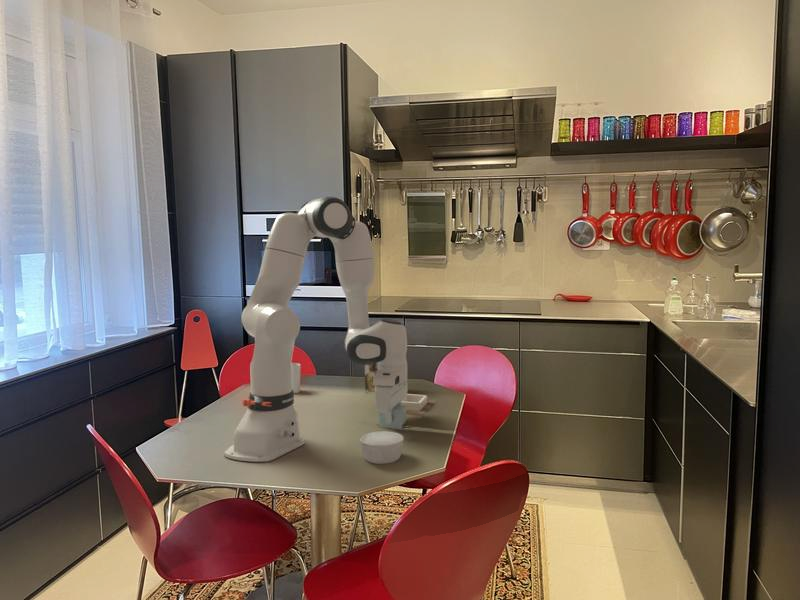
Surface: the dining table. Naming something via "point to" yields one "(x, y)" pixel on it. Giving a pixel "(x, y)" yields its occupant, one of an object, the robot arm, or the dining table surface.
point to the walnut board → (420, 413)
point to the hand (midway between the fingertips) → (392, 418)
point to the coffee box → (370, 376)
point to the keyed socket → (414, 402)
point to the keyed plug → (394, 418)
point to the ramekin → (382, 447)
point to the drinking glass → (295, 377)
